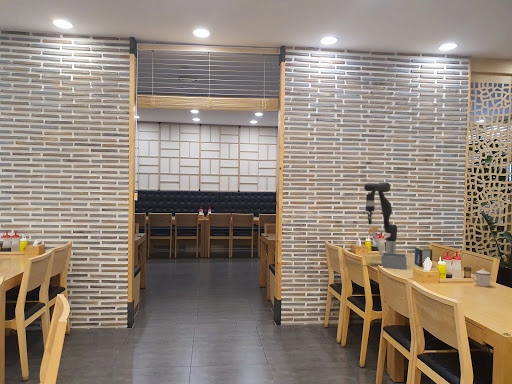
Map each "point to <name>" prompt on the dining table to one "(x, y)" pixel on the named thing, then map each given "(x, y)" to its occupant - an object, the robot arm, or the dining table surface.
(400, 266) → the carton
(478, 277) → the teacup with lid
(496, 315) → the dining table surface
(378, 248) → the carton lid
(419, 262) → the protein box
